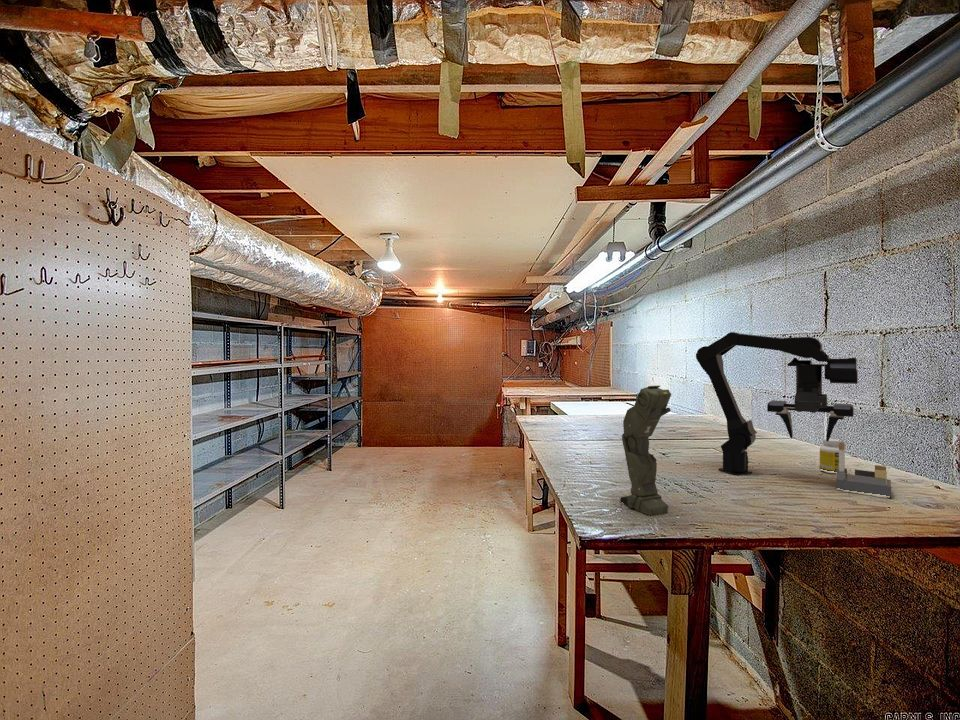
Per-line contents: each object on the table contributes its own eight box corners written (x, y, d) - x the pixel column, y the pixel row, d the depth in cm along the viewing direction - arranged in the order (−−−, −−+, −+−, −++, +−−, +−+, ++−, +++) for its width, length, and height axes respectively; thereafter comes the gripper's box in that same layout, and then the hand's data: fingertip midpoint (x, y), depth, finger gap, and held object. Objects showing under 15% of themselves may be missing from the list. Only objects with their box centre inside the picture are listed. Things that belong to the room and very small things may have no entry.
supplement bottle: (837, 475, 128) (837, 442, 128) (816, 471, 133) (815, 439, 133) (846, 473, 131) (846, 440, 131) (824, 469, 136) (824, 437, 136)
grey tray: (835, 490, 114) (835, 465, 114) (838, 483, 120) (837, 460, 120) (891, 499, 107) (891, 472, 107) (890, 491, 113) (890, 466, 113)
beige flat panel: (838, 477, 115) (838, 444, 115) (839, 473, 119) (839, 441, 119) (844, 478, 115) (844, 445, 115) (845, 474, 118) (845, 442, 118)
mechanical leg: (606, 494, 111) (624, 379, 104) (629, 490, 114) (648, 378, 107) (643, 526, 99) (666, 398, 92) (669, 521, 101) (693, 397, 94)
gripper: (763, 383, 121) (763, 440, 122) (852, 385, 109) (852, 448, 109) (770, 381, 130) (770, 434, 130) (853, 383, 117) (853, 441, 117)
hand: (809, 439), depth 121 cm, fingers open, 8 cm apart
